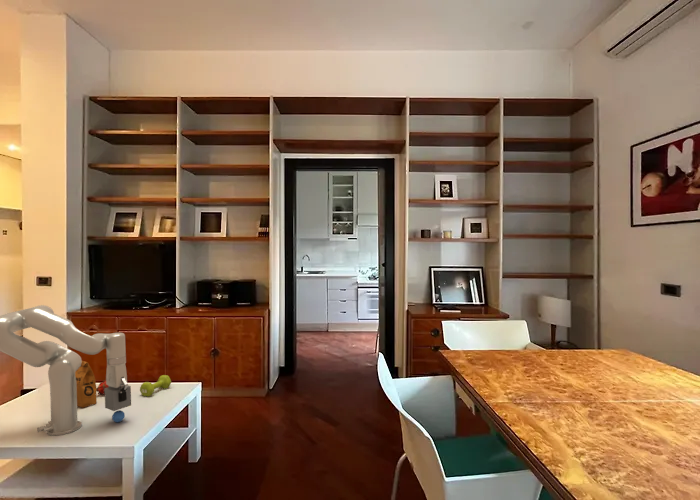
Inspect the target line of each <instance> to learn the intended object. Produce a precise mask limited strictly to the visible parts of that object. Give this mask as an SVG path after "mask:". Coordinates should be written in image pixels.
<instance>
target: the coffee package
mask: <svg viewBox="0 0 700 500" xmlns="http://www.w3.org/2000/svg"><path fill="white" fill-rule="evenodd" d="M75 377H76V384H77V408H81V409H85V408H87V407H91V406H93V405H96V404H97V383H96V382H97V381H96V378H95V374H94V371H93V369H92V367H91V366H90V363H89V362H87V361H84V360H82V363H81V366H80V367H79V369H78V370H77V371H76V372H75Z"/></svg>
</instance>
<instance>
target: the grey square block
mask: <svg viewBox="0 0 700 500" xmlns="http://www.w3.org/2000/svg"><path fill="white" fill-rule="evenodd" d="M120 386H121V385H120ZM122 388H123V387H121V389H122ZM118 393H119V390H118V388H113V387H107V388H105V395H104V408H105V409H108V410H109V411H112V412H116V411H119V410H121V409H124V408H127V407H128V408H129V407H130V406H132V389H131V385H129V384H128V387H127V391H126V397H127V400H125V401H122V402H119V395H118Z"/></svg>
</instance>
